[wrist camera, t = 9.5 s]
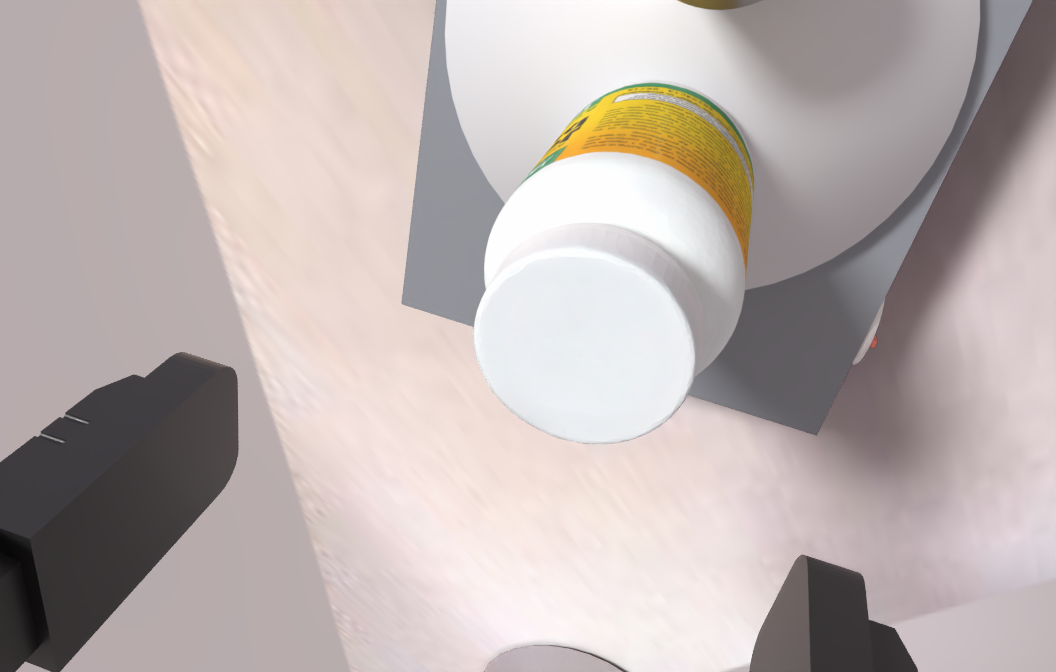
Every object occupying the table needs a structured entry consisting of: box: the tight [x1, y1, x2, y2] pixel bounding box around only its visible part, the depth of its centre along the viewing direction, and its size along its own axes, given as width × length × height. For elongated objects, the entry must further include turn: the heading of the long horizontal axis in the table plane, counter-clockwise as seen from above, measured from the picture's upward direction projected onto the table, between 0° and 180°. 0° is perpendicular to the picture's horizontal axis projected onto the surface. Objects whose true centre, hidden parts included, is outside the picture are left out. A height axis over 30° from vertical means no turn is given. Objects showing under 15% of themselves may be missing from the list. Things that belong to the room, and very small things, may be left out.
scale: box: [402, 0, 1033, 435], centre depth 23 cm, size 18×14×4 cm
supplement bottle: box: [474, 80, 754, 444], centre depth 18 cm, size 5×5×10 cm
